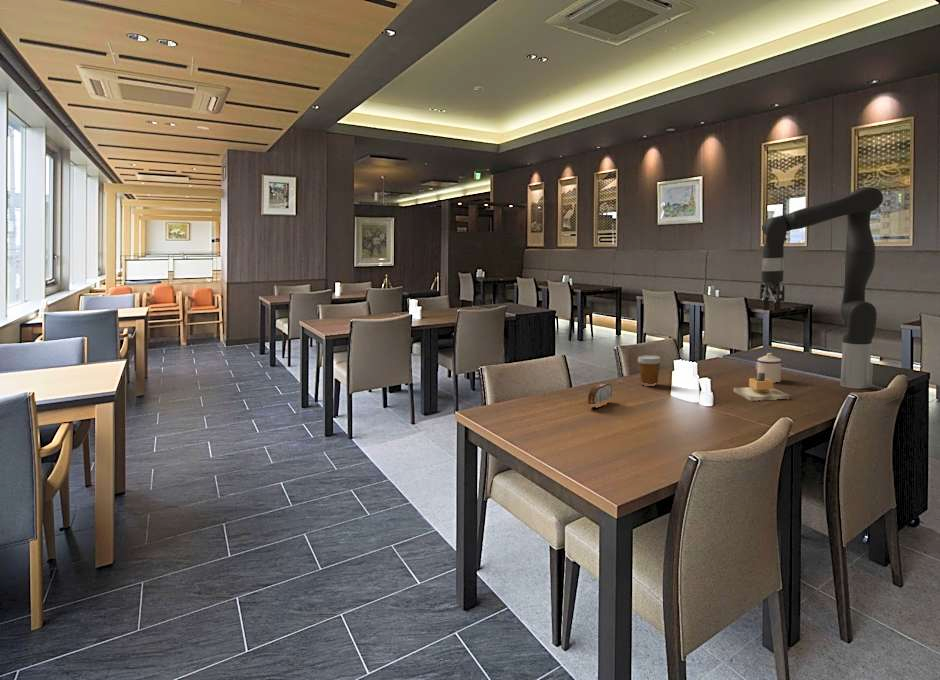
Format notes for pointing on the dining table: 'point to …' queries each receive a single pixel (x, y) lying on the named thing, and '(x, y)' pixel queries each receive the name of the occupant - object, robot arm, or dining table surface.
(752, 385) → the orange square socket block
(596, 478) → the dining table surface
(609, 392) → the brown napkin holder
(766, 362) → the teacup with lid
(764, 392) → the post stand
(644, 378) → the disposable coffee cup
